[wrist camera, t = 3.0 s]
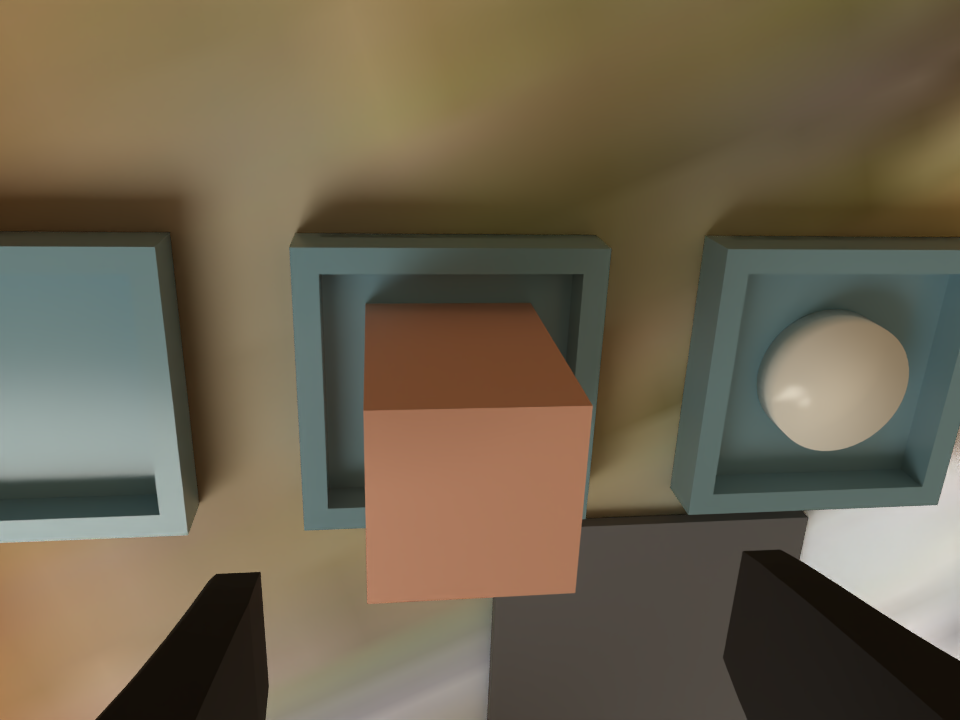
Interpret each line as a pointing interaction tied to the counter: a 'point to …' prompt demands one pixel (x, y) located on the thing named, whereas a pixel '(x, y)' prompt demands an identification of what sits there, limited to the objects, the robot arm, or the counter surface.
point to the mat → (634, 622)
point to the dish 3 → (754, 326)
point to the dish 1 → (92, 389)
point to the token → (832, 379)
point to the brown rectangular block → (470, 454)
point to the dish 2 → (420, 279)
